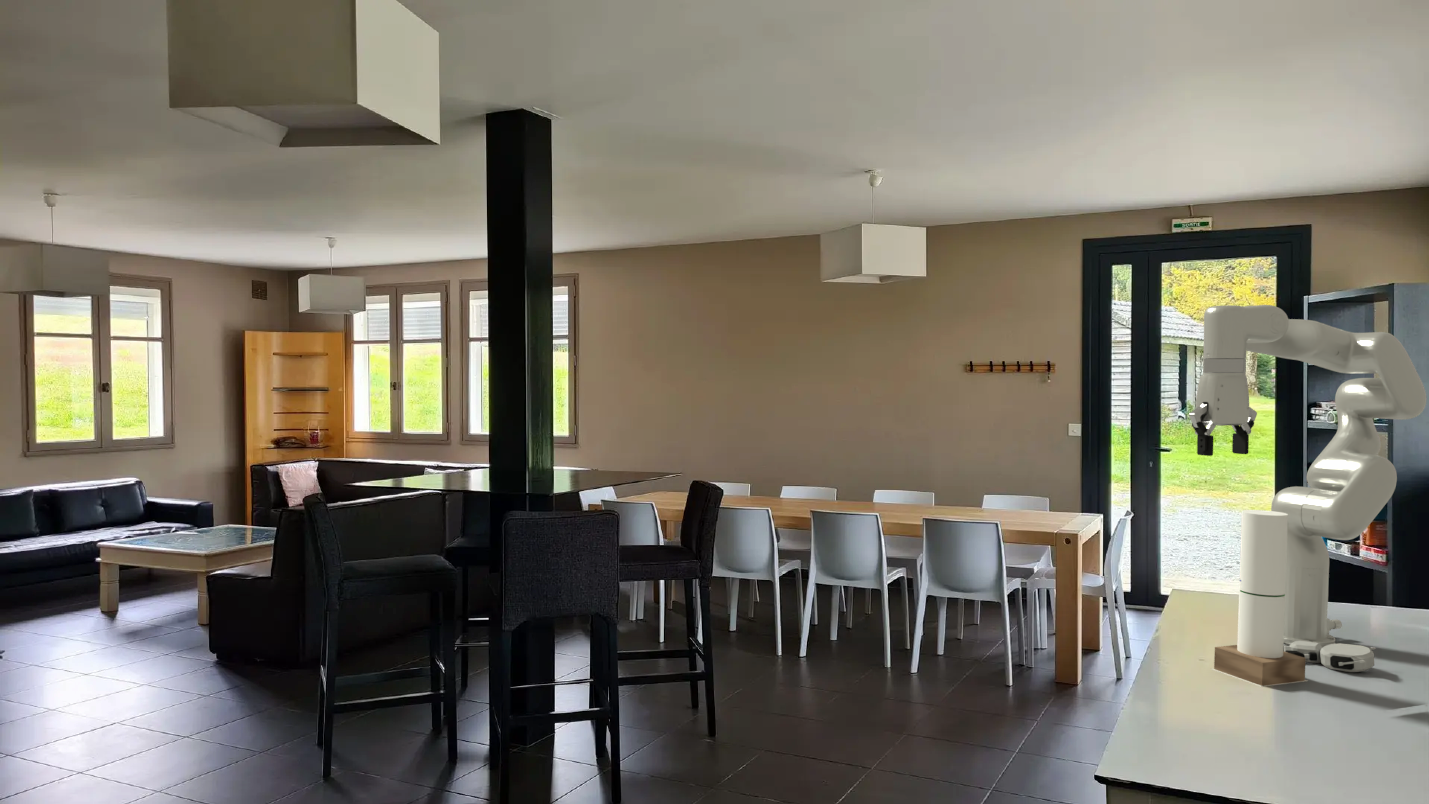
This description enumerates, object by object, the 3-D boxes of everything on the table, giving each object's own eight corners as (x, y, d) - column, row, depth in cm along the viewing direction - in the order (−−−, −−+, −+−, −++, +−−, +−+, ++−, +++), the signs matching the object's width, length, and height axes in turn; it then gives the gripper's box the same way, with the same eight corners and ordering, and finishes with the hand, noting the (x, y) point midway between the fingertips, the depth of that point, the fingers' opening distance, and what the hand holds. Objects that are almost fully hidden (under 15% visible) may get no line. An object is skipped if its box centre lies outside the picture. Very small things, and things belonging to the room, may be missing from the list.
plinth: (1255, 664, 179) (1256, 642, 179) (1304, 680, 170) (1305, 658, 170) (1214, 669, 176) (1214, 647, 176) (1262, 685, 167) (1262, 662, 167)
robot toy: (1273, 671, 182) (1369, 683, 172) (1272, 646, 182) (1368, 657, 172) (1288, 657, 191) (1380, 668, 181) (1287, 634, 191) (1378, 644, 181)
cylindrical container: (1278, 649, 175) (1282, 511, 175) (1287, 660, 169) (1292, 516, 168) (1234, 644, 178) (1238, 508, 177) (1241, 655, 171) (1245, 514, 170)
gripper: (1238, 368, 199) (1237, 451, 199) (1176, 368, 192) (1175, 454, 193) (1272, 368, 192) (1270, 454, 192) (1209, 368, 185) (1207, 457, 186)
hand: (1222, 454), depth 193 cm, fingers open, 9 cm apart
